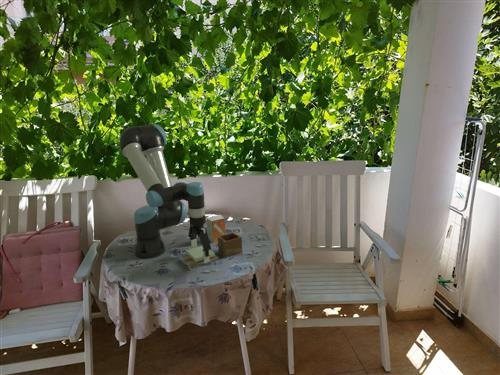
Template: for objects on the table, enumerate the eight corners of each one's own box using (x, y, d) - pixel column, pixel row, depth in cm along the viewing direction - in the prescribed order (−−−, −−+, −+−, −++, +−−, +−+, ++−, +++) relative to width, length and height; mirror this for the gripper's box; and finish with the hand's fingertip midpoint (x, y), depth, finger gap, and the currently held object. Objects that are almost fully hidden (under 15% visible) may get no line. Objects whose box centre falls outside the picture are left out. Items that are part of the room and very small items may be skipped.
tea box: (218, 253, 193) (217, 236, 191) (234, 248, 198) (233, 232, 195) (226, 259, 187) (225, 242, 184) (242, 254, 191) (241, 237, 189)
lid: (186, 255, 188) (185, 250, 188) (204, 250, 193) (204, 245, 193) (195, 264, 179) (195, 258, 179) (215, 258, 184) (214, 252, 184)
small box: (213, 244, 204) (211, 221, 200) (207, 240, 209) (205, 217, 205) (226, 240, 208) (225, 217, 204) (220, 236, 213) (219, 214, 210)
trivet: (183, 260, 187) (182, 257, 187) (209, 252, 194) (209, 249, 194) (191, 268, 179) (191, 265, 179) (218, 260, 186) (218, 257, 186)
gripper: (216, 221, 172) (219, 264, 178) (193, 206, 193) (196, 246, 198) (201, 225, 168) (204, 269, 174) (179, 210, 189) (183, 249, 195)
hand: (200, 256), depth 186 cm, fingers open, 13 cm apart
